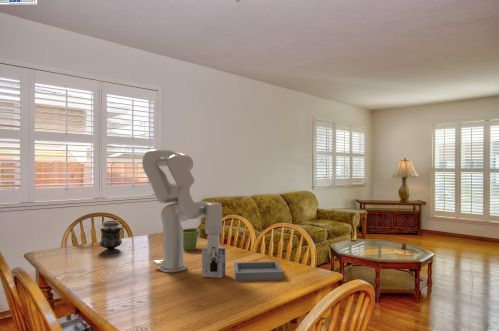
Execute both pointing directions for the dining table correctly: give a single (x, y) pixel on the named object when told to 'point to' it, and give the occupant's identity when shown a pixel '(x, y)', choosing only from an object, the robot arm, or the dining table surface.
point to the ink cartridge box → (207, 261)
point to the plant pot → (190, 238)
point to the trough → (257, 271)
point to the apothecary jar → (110, 236)
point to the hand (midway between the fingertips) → (214, 268)
